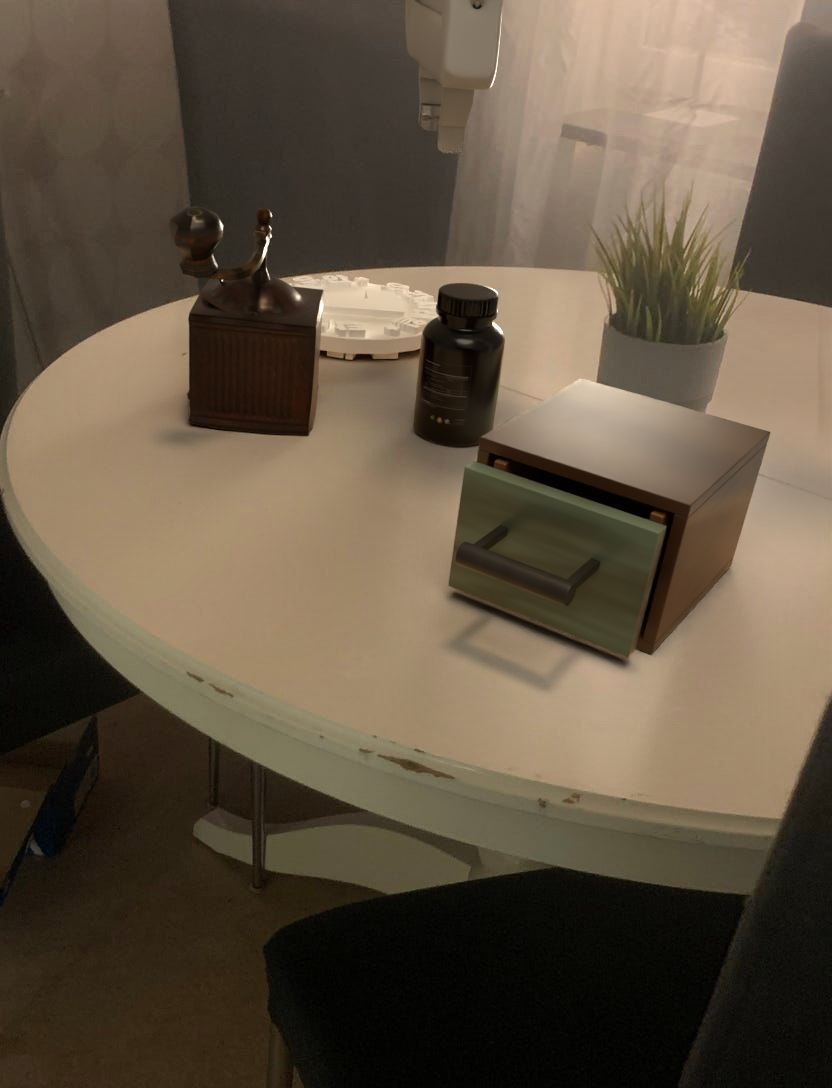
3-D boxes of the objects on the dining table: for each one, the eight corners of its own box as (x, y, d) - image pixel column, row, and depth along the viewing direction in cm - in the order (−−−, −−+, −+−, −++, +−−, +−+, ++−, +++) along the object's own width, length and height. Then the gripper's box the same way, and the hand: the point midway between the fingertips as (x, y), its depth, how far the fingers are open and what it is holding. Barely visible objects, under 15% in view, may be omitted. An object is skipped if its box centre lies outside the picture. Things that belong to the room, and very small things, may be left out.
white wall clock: (296, 290, 126) (298, 263, 125) (464, 320, 122) (467, 293, 120) (220, 339, 110) (221, 310, 109) (410, 376, 106) (413, 345, 104)
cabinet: (651, 655, 68) (691, 505, 62) (459, 579, 74) (479, 436, 68) (731, 566, 78) (770, 431, 73) (556, 506, 84) (581, 377, 79)
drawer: (593, 695, 62) (623, 566, 58) (406, 616, 68) (420, 493, 63) (707, 572, 75) (739, 459, 71) (542, 515, 81) (562, 406, 76)
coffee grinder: (198, 381, 101) (197, 168, 91) (320, 391, 101) (332, 180, 91) (166, 451, 88) (162, 211, 78) (307, 462, 88) (320, 225, 78)
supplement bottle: (430, 410, 99) (446, 273, 92) (503, 428, 96) (524, 289, 90) (398, 436, 93) (413, 292, 87) (474, 455, 91) (495, 309, 85)
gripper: (538, -72, 68) (506, 169, 76) (480, -77, 85) (458, 120, 93) (436, -80, 68) (414, 164, 75) (398, -83, 85) (383, 116, 92)
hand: (438, 140), depth 84 cm, fingers open, 8 cm apart
